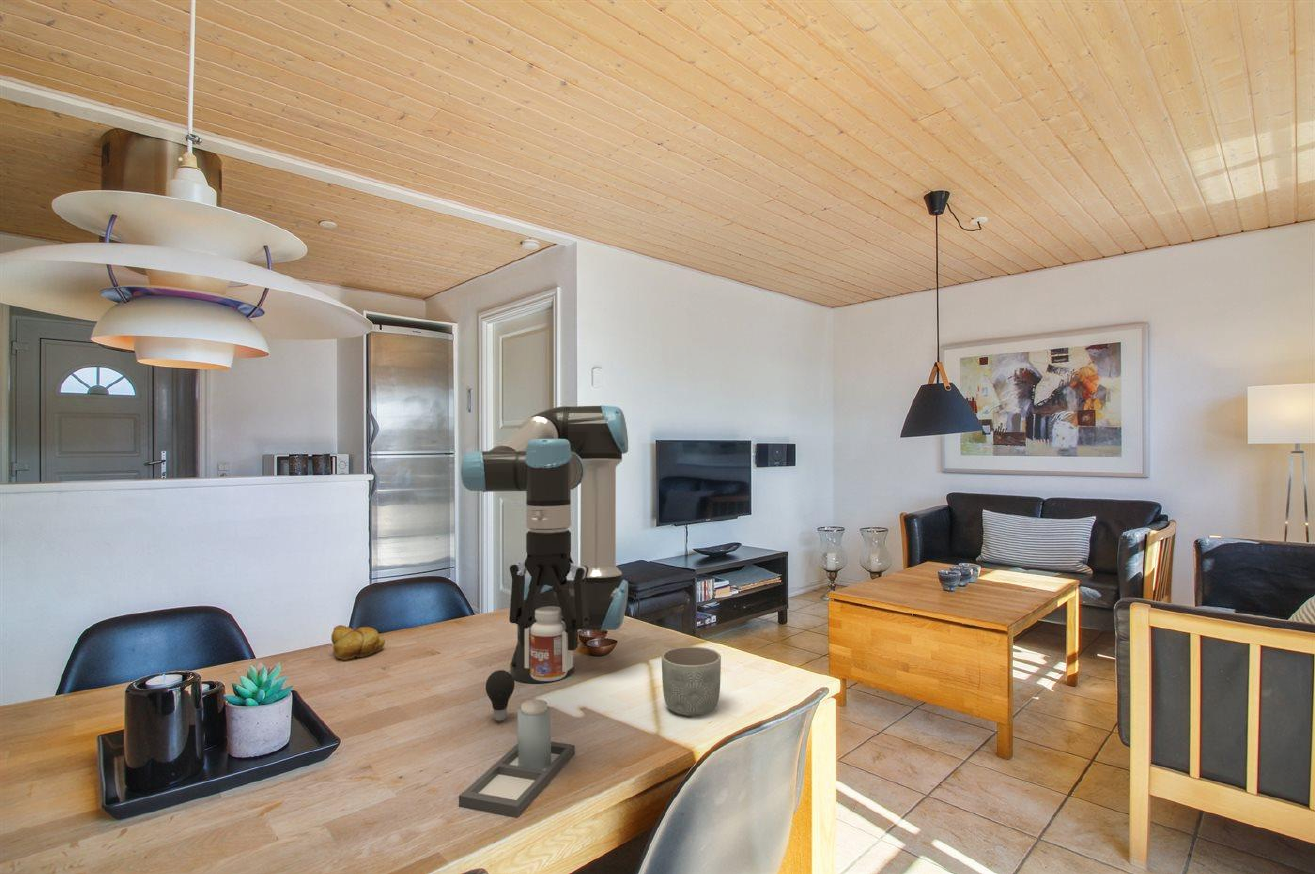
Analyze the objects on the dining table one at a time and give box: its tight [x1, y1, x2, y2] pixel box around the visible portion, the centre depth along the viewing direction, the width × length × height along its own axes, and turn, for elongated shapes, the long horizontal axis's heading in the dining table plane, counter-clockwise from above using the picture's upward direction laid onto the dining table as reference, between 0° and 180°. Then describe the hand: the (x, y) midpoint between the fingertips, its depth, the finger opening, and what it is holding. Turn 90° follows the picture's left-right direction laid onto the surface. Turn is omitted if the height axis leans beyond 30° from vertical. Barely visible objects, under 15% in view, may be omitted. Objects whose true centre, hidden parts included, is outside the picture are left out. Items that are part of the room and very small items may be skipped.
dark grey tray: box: [458, 741, 576, 818], centre depth 104 cm, size 10×20×2 cm, turn 163°
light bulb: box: [485, 669, 515, 723], centre depth 126 cm, size 6×6×10 cm
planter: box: [661, 645, 722, 717], centre depth 131 cm, size 12×12×11 cm
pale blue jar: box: [517, 699, 552, 770], centre depth 108 cm, size 6×6×10 cm
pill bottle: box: [530, 606, 567, 682], centre depth 106 cm, size 6×6×11 cm
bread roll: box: [330, 625, 386, 661], centre depth 167 cm, size 13×10×8 cm
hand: (548, 667), depth 106 cm, fingers closed on pill bottle, 6 cm apart
